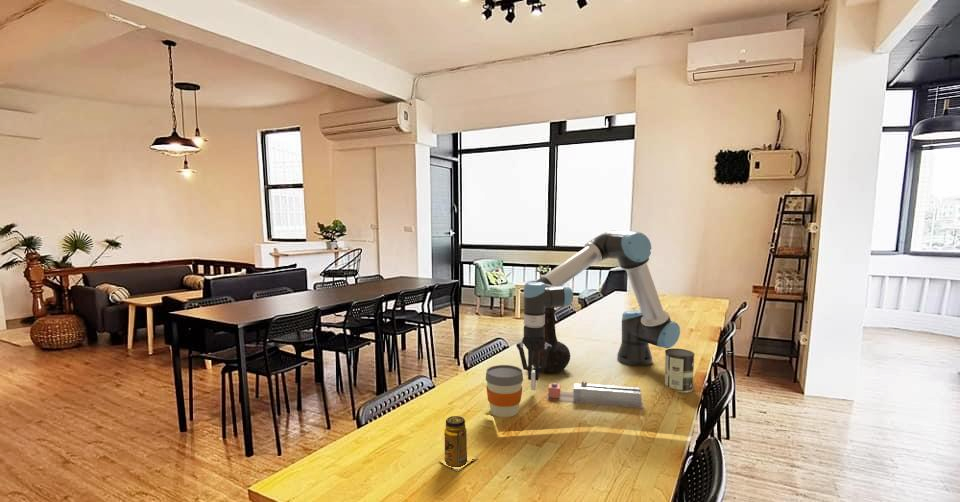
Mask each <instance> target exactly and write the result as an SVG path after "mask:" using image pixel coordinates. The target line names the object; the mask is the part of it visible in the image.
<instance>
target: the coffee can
mask: <svg viewBox="0 0 960 502" xmlns="http://www.w3.org/2000/svg"><path fill="white" fill-rule="evenodd" d="M664 353H665V356H664V357H665V359H664V360H665V361H664V362H665V363H664V365H665V367H664V386H667V387H669V388H672V389H676V391H677V392H678V393H681V394H682V393H683V394H686V393H692V392H693V391H694V366H695V365H694V364H695V363H694V361H695V353H694V352H693V351H691V350H689V349H688V350H687V349H684V348H675V347H674V348H666V349H665V351H664Z"/></svg>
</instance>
